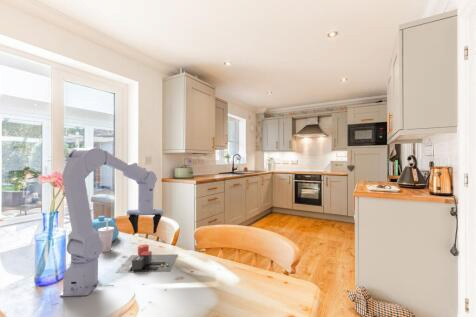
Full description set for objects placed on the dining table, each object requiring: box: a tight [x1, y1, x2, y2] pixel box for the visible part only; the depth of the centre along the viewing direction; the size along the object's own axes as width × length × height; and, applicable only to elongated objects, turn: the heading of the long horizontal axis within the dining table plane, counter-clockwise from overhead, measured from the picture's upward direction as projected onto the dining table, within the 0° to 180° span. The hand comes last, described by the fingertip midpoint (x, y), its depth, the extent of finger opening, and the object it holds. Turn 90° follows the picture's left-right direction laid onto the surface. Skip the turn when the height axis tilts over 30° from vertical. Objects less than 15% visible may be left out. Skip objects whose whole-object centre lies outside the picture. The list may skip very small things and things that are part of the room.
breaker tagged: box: [140, 250, 153, 264], centre depth 86 cm, size 3×3×4 cm
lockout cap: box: [137, 244, 150, 257], centre depth 92 cm, size 4×4×4 cm
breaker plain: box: [132, 257, 144, 270], centre depth 82 cm, size 3×3×3 cm
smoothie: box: [98, 219, 114, 253], centre depth 102 cm, size 6×6×14 cm
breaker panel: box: [114, 253, 179, 274], centre depth 87 cm, size 15×19×2 cm
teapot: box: [92, 215, 120, 242], centre depth 113 cm, size 20×20×13 cm
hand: (145, 232), depth 95 cm, fingers open, 7 cm apart
